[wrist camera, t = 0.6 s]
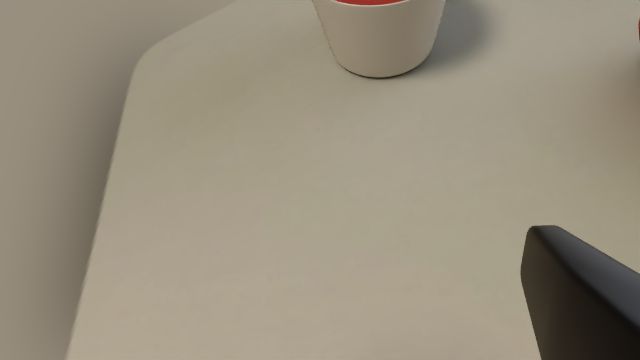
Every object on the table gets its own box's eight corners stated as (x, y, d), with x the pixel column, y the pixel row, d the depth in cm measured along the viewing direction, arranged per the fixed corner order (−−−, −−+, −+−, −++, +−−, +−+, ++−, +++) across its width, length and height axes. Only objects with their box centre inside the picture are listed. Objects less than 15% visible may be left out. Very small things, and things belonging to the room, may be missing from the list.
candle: (426, 104, 32) (430, 17, 27) (295, 76, 35) (276, -7, 30) (465, 14, 37) (474, -74, 32) (345, -3, 40) (337, -87, 35)
